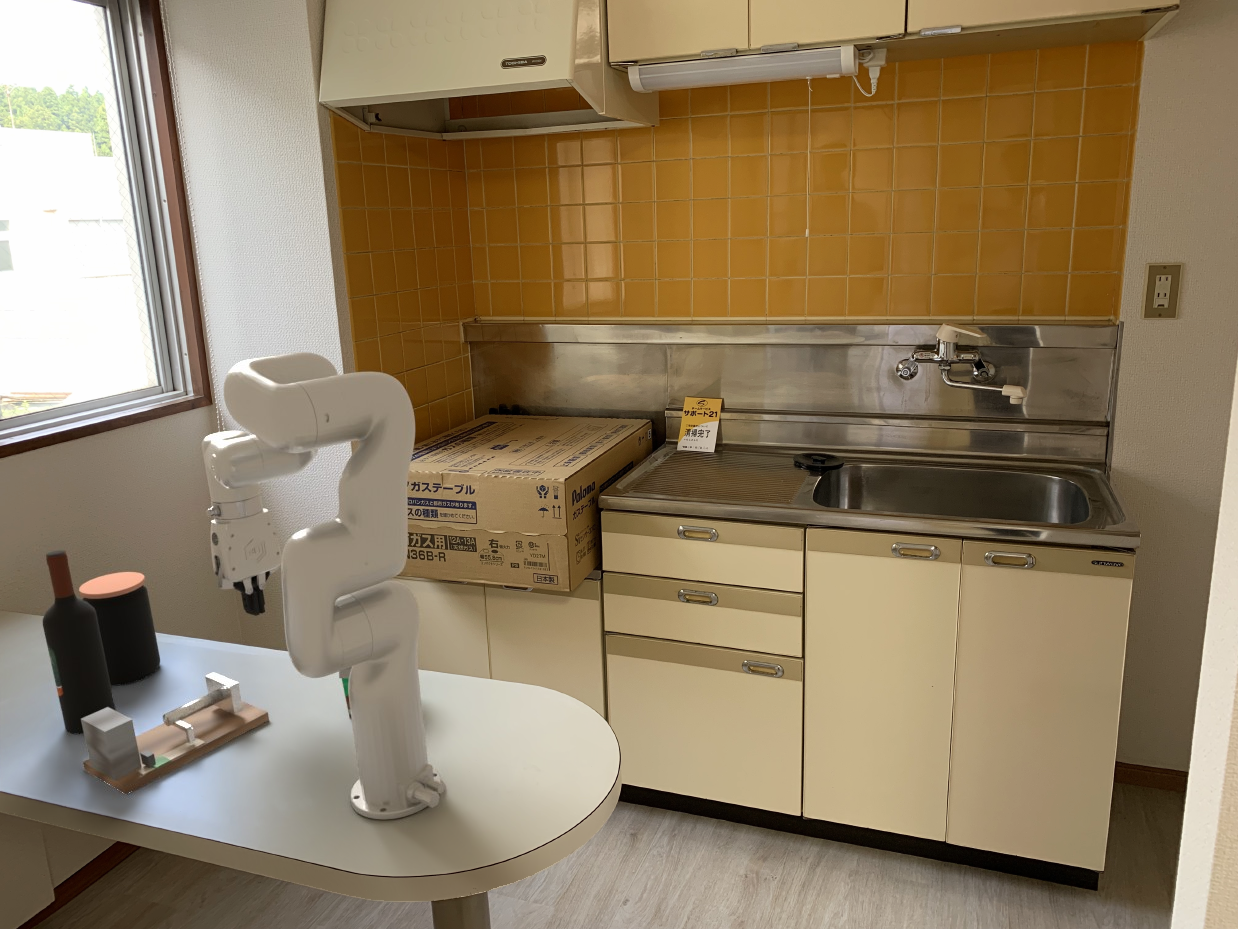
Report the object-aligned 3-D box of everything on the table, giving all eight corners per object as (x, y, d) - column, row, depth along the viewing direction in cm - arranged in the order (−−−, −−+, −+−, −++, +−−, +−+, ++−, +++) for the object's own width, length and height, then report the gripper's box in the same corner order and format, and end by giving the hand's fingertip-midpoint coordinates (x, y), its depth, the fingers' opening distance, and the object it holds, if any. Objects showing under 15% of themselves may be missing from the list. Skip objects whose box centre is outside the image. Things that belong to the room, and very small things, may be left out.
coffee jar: (104, 665, 178) (85, 576, 173) (165, 656, 181) (149, 568, 176) (91, 691, 168) (72, 598, 163) (157, 680, 171) (139, 588, 166)
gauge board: (269, 720, 155) (260, 668, 153) (125, 795, 136) (113, 736, 134) (226, 701, 162) (218, 651, 159) (84, 770, 143) (72, 714, 141)
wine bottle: (89, 737, 152) (52, 563, 145) (54, 730, 155) (16, 559, 147) (127, 713, 159) (93, 546, 152) (93, 708, 162) (58, 543, 154)
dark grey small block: (156, 764, 140) (153, 753, 140) (149, 767, 139) (147, 756, 139) (148, 760, 141) (146, 749, 141) (142, 763, 140) (140, 753, 140)
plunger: (248, 714, 153) (243, 684, 152) (186, 745, 145) (181, 714, 143) (218, 701, 158) (213, 672, 156) (157, 730, 149) (151, 700, 148)
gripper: (208, 523, 145) (228, 633, 149) (291, 498, 156) (307, 601, 161) (181, 517, 149) (201, 625, 153) (264, 493, 161) (280, 593, 165)
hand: (255, 612), depth 157 cm, fingers closed
